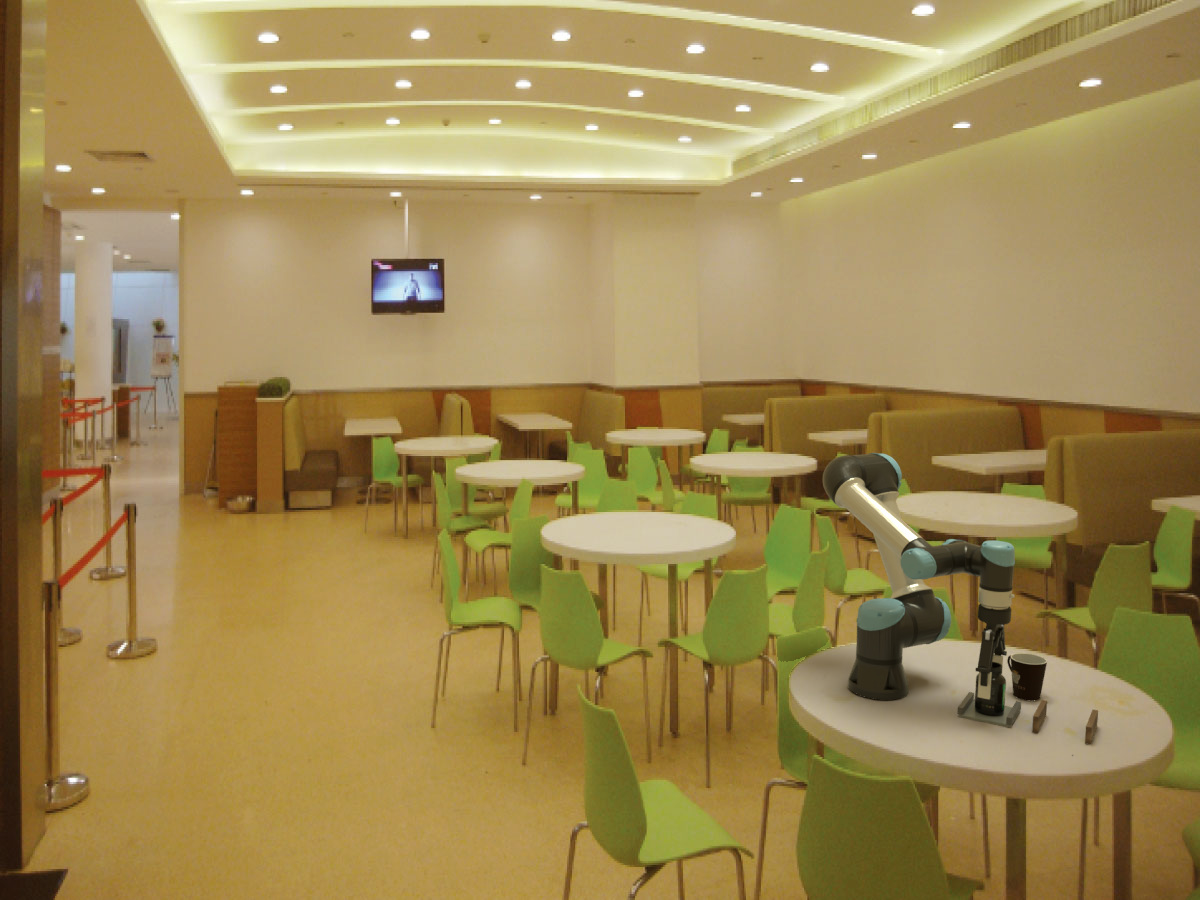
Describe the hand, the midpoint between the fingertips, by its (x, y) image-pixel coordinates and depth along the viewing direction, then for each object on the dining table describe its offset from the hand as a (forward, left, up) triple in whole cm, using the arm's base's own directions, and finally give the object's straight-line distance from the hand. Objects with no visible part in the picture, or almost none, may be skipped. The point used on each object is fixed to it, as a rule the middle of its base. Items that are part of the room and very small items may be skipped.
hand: (989, 689), depth 241 cm
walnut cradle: (+17, 0, -6) cm, 18 cm away
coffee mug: (+5, +19, -7) cm, 21 cm away
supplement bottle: (0, 0, -6) cm, 6 cm away
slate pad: (0, 0, -6) cm, 6 cm away
